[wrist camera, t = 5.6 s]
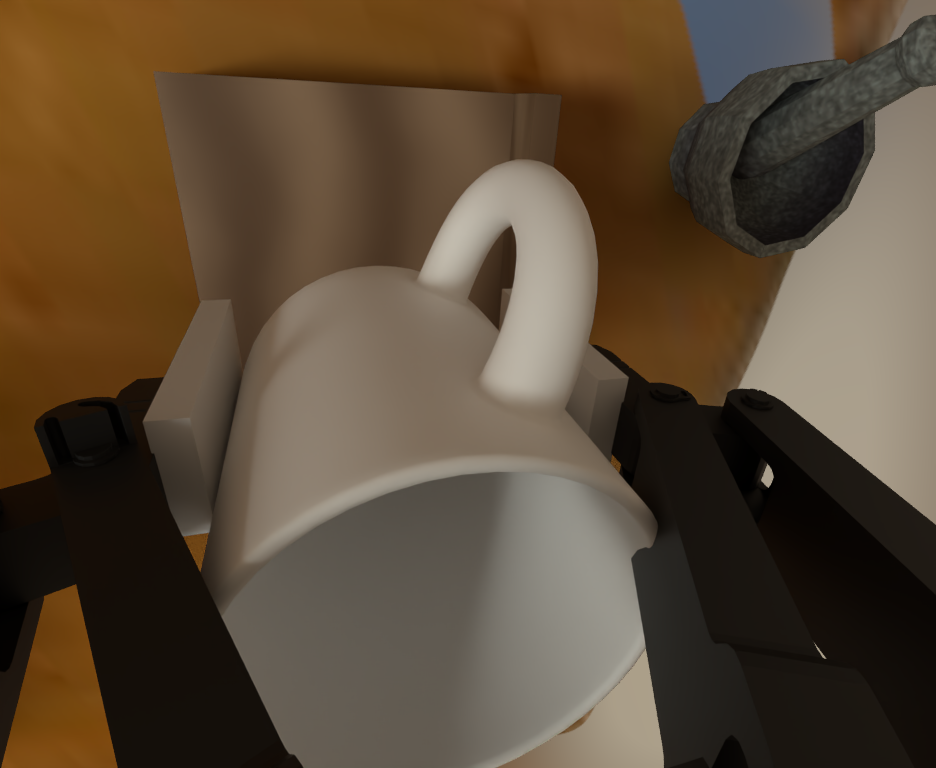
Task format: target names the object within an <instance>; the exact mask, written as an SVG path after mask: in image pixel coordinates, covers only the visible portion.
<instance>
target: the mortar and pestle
mask: <svg viewBox="0 0 936 768" xmlns="http://www.w3.org/2000/svg"><path fill="white" fill-rule="evenodd" d="M933 85H936V15H929V16H924V17H922V18H920V19H918V20H917V21H915V22H913V23H912V24H910V25H909V27H908V28H907V30H906V31H905V32H904V34H903V35H902V37H900V38H898V39H897V40H894V41H892V42H891V43H889V44H887V45H885V46H883V47H881V48H879V49H877V50H876V51H874V52H872V53H870V54H868V55H866V56H864V57H862V58H861V59H859V60H857V61H855V62H853V63H851V64H848V63H847V62H846V61H845V60H844V59H837V60H824V61H816V62H809V63H803V64H797V65H790V66H784V67H778V68H771V69H767V70H764V71H761V72H757V73H754V74H750V75H748V76H747V77H746V78H745V79H744V80H742V81H741V82H740V83H739V84H738V85H737V86H736V87H734V88H733V89H732V90H731V91H730V92H729V93H728V94H727V95H726V96H725V97H724V98H723V99H722V100H721V101H720V102H716V103H709V104H704V105H703V106H702V107H701V108H700V109H699V110H698V111H697V112H696V113H695V114H694V115H693V116H692V117H691V118H690V119H689V120H688V121H687V122H686V123H685V124H684V125H683V126H682V127H681V128H680V130H679V133H678V136H677V139H676V142H675V145H674V148H673V151H672V154H671V158H670V161H669V165H670V170H671V175H672V179H673V184H674V189H675V192H677V193H678V194H680V195H681V196H682V197H684V198H685V199H687V200H688V201H689V202H690V207H691V210H692V212H693V215H694V217H695V219H696V221H697V222H698V223H700V224H701V225H703V226H704V227H706V228H707V229H708V230H710V231H711V232H713V233H714V234H716V235H717V236H719V237H720V238H722V239H723V240H725V241H726V242H728V243H729V244H731V245H732V246H734V247H736V248H737V249H739V250H740V251H742V252H744V253H747V254H750V255H753V256H755V257H758V258H762V257H767V256H771V255H775V254H780V253H784V252H788V251H793V250H797V249H801V248H805V247H806V246H807V245H808V244H809V243H811V242H812V241H813V240H814V239H815V238H816V237H817V236H818V235H819V234H820V233H821V232H822V231H823V230H825V229H826V228H827V227H828V226H829V225H830V224H831V223H832V222H833V221H834V220H835V219H836V218H838V217H839V216H840V215H841V214H842V213H843V212H844V211H845V210H846V209H847V208H848V206H849V204H850V202H851V200H852V198H853V196H854V194H855V192H856V189H857V187H858V185H859V183H860V181H861V179H862V177H863V175H864V173H865V170H866V168H867V166H868V164H869V162H870V160H871V158H872V156H873V153H874V151H875V112H876V111H878V110H880V109H882V108H883V107H885V106H887V105H889V104H890V103H892V102H894V101H896V100H898V99H899V98H901V97H903V96H905V95H906V94H908V93H910V92H912V91H913V90H915V89H917V88H919V87H926V86H933Z"/></svg>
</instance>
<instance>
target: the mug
mask: <svg viewBox="0 0 936 768" xmlns="http://www.w3.org/2000/svg"><path fill="white" fill-rule="evenodd" d="M511 225H512V227H513V230H514V233H515V239H516V252H517V259H516V268H515V277H514V283H513V288H512V293H511V297H510V302H509V305H508V309H507V312H506V315H505V319H504V322H503V325H502V328H501V330H500V332H499V331H498V329H497V328H496V327H495V326H494V325H493V324H492V323H491V321H490V320H489V319H488V318H487V317H486V316H485V315H484V314H483V313H482V312H481V311H480V310H479V309H478V308H477V307H476V306H475V305H474V304H473V303H472V302H471V301H470V300H469V299H468V296H469V294H470V291H471V288H472V286H473V284H474V281H475V279H476V277H477V274H478V272H479V270H480V268H481V266H482V264H483V262H484V260H485V258H486V256H487V254H488V252H489V251H490V249H491V247H492V246H493V244H494V243H495V241H496V240H497V239H498V237H499V236H500V235H501V234H502V232H503V231H504V230H505V229H507V228H508V227H510V226H511ZM597 283H598V257H597V249H596V241H595V234H594V231H593V228H592V224H591V221H590V218H589V214H588V212H587V210H586V207H585V205H584V203H583V201H582V199H581V198H580V196H579V194H578V192H577V190H576V189H575V187H574V185H573V184H572V183H571V182H570V181H568V180H567V179H566V178H565V177H564V176H563V175H562V174H561V173H560V172H559V171H557V170H556V169H555V168H554V167H552V166H550V165H547V164H545V163H543V162H540V161H534V160H528V159H516V160H512V161H509V162H505V163H502V164H499V165H496V166H494V167H492V168H491V169H489V170H488V171H486V172H485V173H483V174H482V175H481V176H480V177H479V178H478V179H477V180H476V181H474V182H473V183H472V184H471V185H470V186H469V187H468V188H467V189H466V190H465V192H464V193H463V194H462V195H461V196H460V198H459V199H458V200H457V202H456V203H455V205H454V206H453V208H452V209H451V211H450V212H449V214H448V216H447V218H446V219H445V221H444V223H443V225H442V226H441V228H440V230H439V232H438V234H437V236H436V238H435V240H434V242H433V245H432V247H431V249H430V251H429V253H428V255H427V258H426V260H425V262H424V264H423V267H422V269H421V271H420V272H419V271H416V270H412V269H407V268H401V267H394V266H367V267H356V268H352V269H348V270H343V271H339V272H336V273H333V274H331V275H328V276H325V277H322V278H320V279H318V280H316V281H314V282H313V283H311V284H309V285H307V286H305V287H303V288H302V289H301V290H299V291H298V292H296V293H295V294H294V295H292V296H291V297H289V298H288V299H287V300H286V301H285V302H284V303H283V304H282V305H281V306H280V307H279V308H278V309H277V310H276V311H275V312H274V314H273V315H272V316H271V317H270V319H269V320H268V321H267V322H266V324H265V325H264V326H263V328H262V329H261V331H260V333H259V335H258V336H257V338H256V340H255V341H254V344H253V346H252V349H251V351H250V354H249V356H248V359H247V361H246V364H245V367H244V371H243V376H242V380H241V385H240V389H239V394H238V399H237V403H236V408H235V413H234V417H233V422H232V427H231V432H230V436H229V441H228V446H227V450H226V455H225V460H224V465H223V469H222V474H221V479H220V483H219V488H218V493H217V497H216V502H215V507H214V512H213V516H212V521H211V526H210V530H209V535H208V540H207V545H206V549H205V554H204V559H203V563H202V568H201V575H202V577H203V579H204V581H205V584H206V586H207V588H208V590H209V592H210V594H211V596H212V598H213V600H214V602H215V604H216V606H217V608H218V610H219V613H220V615H221V617H222V619H223V621H224V623H225V625H226V627H227V629H228V631H229V633H230V635H231V637H232V639H233V642H234V644H235V646H236V648H237V650H238V652H239V654H240V656H241V658H242V660H243V662H244V664H245V666H246V669H247V671H248V673H249V675H250V677H251V679H252V681H253V683H254V685H255V687H256V689H257V691H258V693H259V695H260V698H261V700H262V702H263V704H264V706H265V708H266V710H267V712H268V714H269V716H270V718H271V720H272V722H273V724H274V727H275V729H276V731H277V733H278V735H279V737H280V739H281V741H282V743H283V745H284V747H285V748H286V750H287V751H288V753H289V754H294V755H295V756H296V757H297V759H298V760H299V761H300V763H301V764H302V766H303V768H497V767H499V766H501V765H503V764H505V763H507V762H510V761H511V760H513V759H516V758H518V757H520V756H522V755H524V754H526V753H527V752H529V751H531V750H533V749H535V748H536V747H538V746H540V745H542V744H544V743H545V742H547V741H548V740H550V739H551V738H553V737H554V736H556V735H558V734H559V733H561V732H562V731H564V730H565V729H567V728H568V727H569V726H571V725H572V724H573V723H575V722H576V721H577V720H579V719H580V718H581V717H583V716H584V715H585V714H586V713H588V712H589V711H590V710H591V709H592V708H593V707H595V706H596V705H597V704H598V703H599V702H600V701H601V700H603V699H604V697H606V696H607V695H608V694H609V692H610V691H612V689H614V688H615V687H616V686H617V685H618V683H620V681H621V680H622V679H623V678H624V677H625V675H626V674H627V673H628V672H629V671H630V669H631V668H632V667H633V666H634V664H635V663H636V662H637V660H638V658H639V657H640V656H641V654H642V653H643V651H644V650H645V649H646V645H645V639H644V633H643V627H642V621H641V615H640V609H639V603H638V597H637V591H636V585H635V579H634V573H633V568H632V562H631V558H632V557H633V555H634V554H635V553H636V551H637V550H639V549H642V548H645V547H647V548H650V547H651V546H653V543H654V540H655V538H656V535H657V530H658V523H657V521H656V519H655V517H654V515H653V513H652V512H651V510H650V509H649V508H648V507H647V505H646V504H645V503H644V502H643V501H642V500H641V498H640V497H639V496H638V495H637V494H636V493H635V492H634V490H633V489H632V488H631V487H630V486H629V484H628V483H627V482H626V481H625V480H624V479H623V477H622V476H621V475H620V474H619V473H618V472H617V470H616V469H615V468H614V467H613V466H612V464H611V463H610V462H609V461H608V460H607V458H606V457H605V456H604V455H603V454H602V452H601V451H600V450H599V449H598V448H597V446H596V445H595V444H594V443H593V442H592V441H591V439H590V438H589V437H588V436H587V435H586V434H585V432H584V431H583V430H582V429H581V428H580V427H579V425H578V424H577V423H576V422H575V421H574V420H573V418H572V417H571V416H570V415H569V414H568V412H567V411H566V410H565V407H566V405H567V403H568V401H569V398H570V396H571V394H572V391H573V388H574V386H575V383H576V381H577V378H578V375H579V372H580V369H581V366H582V363H583V359H584V356H585V353H586V349H587V345H588V341H589V337H590V333H591V329H592V324H593V319H594V312H595V304H596V297H597Z"/></svg>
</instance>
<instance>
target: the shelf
mask: <svg viewBox="0 0 936 768" xmlns="http://www.w3.org/2000/svg"><path fill="white" fill-rule="evenodd" d="M153 72H154V77H155V82H156V87H157V92H158V97H159V102H160V106H161V111H162V116H163V121H164V126H165V131H166V136H167V141H168V146H169V151H170V156H171V161H172V166H173V171H174V176H175V181H176V186H177V191H178V196H179V201H180V206H181V211H182V216H183V221H184V226H185V231H186V236H187V241H188V246H189V251H190V256H191V261H192V266H193V271H194V276H195V281H196V286H197V291H198V296H199V301H200V303H201V301H202V300H228V299H231V304H232V310H233V316H234V321H235V327H236V333H237V339H238V345H239V351H240V357H241V363H242V369H243V371H244V367H245V364H246V361H247V359H248V356H249V354H250V351H251V349H252V346H253V344H254V341H255V340H256V338H257V336H258V335H259V333H260V331H261V329H262V328H263V326H264V325H265V324H266V322H267V321H268V320H269V319H270V317H271V316H272V315H273V314H274V312H275V311H276V310H277V309H278V308H279V307H280V306H281V305H282V304H283V303H284V302H285V301H286V300H287V299H288V298H289V297H291V296H292V295H294V294H295V293H296V292H298V291H299V290H301V289H302V288H303V287H305V286H307V285H309V284H311V283H313V282H314V281H316V280H318V279H320V278H322V277H325V276H328V275H331V274H333V273H336V272H339V271H343V270H348V269H352V268H356V267H367V266H394V267H401V268H407V269H412V270H416V271H419V272H420V271H421V269H422V267H423V264H424V262H425V260H426V258H427V255H428V253H429V251H430V249H431V247H432V245H433V242H434V240H435V238H436V236H437V234H438V232H439V230H440V228H441V226H442V225H443V223H444V221H445V219H446V218H447V216H448V214H449V212H450V211H451V209H452V208H453V206H454V205H455V203H456V202H457V200H458V199H459V198H460V196H461V195H462V194H463V193H464V192H465V190H466V189H467V188H468V187H469V186H470V185H471V184H472V183H473V182H474V181H476V180H477V179H478V178H479V177H480V176H481V175H482V174H483V173H485V172H486V171H488V170H489V169H491V168H492V167H494V166H496V165H499V164H502V163H505V162H509V161H512V160H516V159H528V160H534V161H540V162H543V163H545V164H547V165H550V166H552V167H554V159H555V150H556V141H557V132H558V124H559V115H560V106H561V97H562V95H554V94H538V93H530V94H509V93H493V92H477V91H461V90H445V89H429V88H413V87H396V86H380V85H364V84H348V83H332V82H316V81H300V80H284V79H268V78H251V77H235V76H219V75H203V74H187V73H171V72H155V71H153ZM516 259H517V252H516V239H515V233H514V230H513V227H512V225H511V226H510V227H508V228H507V229H505V230H504V231H503V232H502V234H501V235H500V236H499V237H498V239H497V240H496V241H495V243H494V244H493V246H492V247H491V249H490V251H489V252H488V254H487V256H486V258H485V260H484V262H483V264H482V266H481V268H480V270H479V272H478V274H477V277H476V279H475V281H474V284H473V286H472V288H471V291H470V294H469V296H468V299H469V300H470V301H471V302H472V303H473V304H474V305H475V306H476V307H477V308H478V309H479V310H480V311H481V312H482V313H483V314H484V315H485V316H486V317H487V318H488V319H489V320H490V321H491V323H492V324H493V325H494V326H495V327H496V328H497V329H498V331H499V322H500V310H501V297H502V289H512V288H513V283H514V277H515V268H516Z"/></svg>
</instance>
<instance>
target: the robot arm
mask: <svg viewBox="0 0 936 768" xmlns="http://www.w3.org/2000/svg"><path fill="white" fill-rule="evenodd" d="M511 293H512V289H502V297H501V310H500V322H499V332H500V330H501V328H502V325H503V322H504V319H505V315H506V312H507V309H508V305H509V302H510V297H511ZM242 376H243V369H242V363H241V357H240V351H239V345H238V339H237V333H236V327H235V321H234V316H233V310H232V304H231V299H228V300H202V301H201V303H200V305H199V307H198V309H197V311H196V313H195V315H194V318H193V320H192V322H191V324H190V326H189V328H188V330H187V332H186V334H185V336H184V338H183V340H182V342H181V344H180V346H179V348H178V350H177V352H176V354H175V357H174V359H173V361H172V363H171V365H170V367H169V369H168V371H167V373H166V375H165V377H162V378H149V379H137V380H136V381H134V382H133V383H131V384H130V385H128V386H127V387H125V388H124V389H122V390H121V391H120V393H119V394H118V396H117V398H116V399H115V398H110V397H93V398H87V399H81V400H75V401H72V402H69V403H66V404H63V405H60V406H57V407H55V408H53V409H51V410H49V411H47V412H45V413H44V414H43V415H42V416H41V417H40V418H38V419H37V420H36V423H35V426H34V429H35V432H36V434H37V437H38V439H39V442H40V444H41V447H42V449H43V452H44V454H45V457H46V459H47V462H48V464H49V467H50V470H51V474H50V475H48V476H45V477H42V478H39V479H36V480H33V481H29V482H26V483H22V484H18V485H14V486H11V487H7V488H3V489H0V768H1V766H2V762H3V758H4V754H5V750H6V746H7V742H8V738H9V734H10V730H11V726H12V722H13V719H14V715H15V711H16V707H17V703H18V699H19V695H20V691H21V687H22V683H23V679H24V675H25V672H26V668H27V664H28V660H29V656H30V652H31V648H32V644H33V640H34V636H35V632H36V628H37V624H38V621H39V617H40V613H41V609H42V605H43V601H44V596H45V595H48V594H50V593H53V592H56V591H59V590H61V589H64V588H67V587H70V586H72V585H75V584H76V585H77V590H78V594H79V598H80V603H81V607H82V612H83V616H84V621H85V625H86V629H87V634H88V638H89V643H90V647H91V651H92V656H93V660H94V665H95V669H96V674H97V678H98V682H99V687H100V691H101V696H102V700H103V705H104V709H105V713H106V718H107V722H108V727H109V731H110V736H111V740H112V744H113V749H114V753H115V758H116V762H117V766H118V768H303V766H302V764H301V763H300V761H299V760H298V759H297V757H296V756H295V755H294V754H289V753H288V751H287V750H286V748H285V747H284V745H283V743H282V741H281V739H280V737H279V735H278V733H277V731H276V729H275V727H274V724H273V722H272V720H271V718H270V716H269V714H268V712H267V710H266V708H265V706H264V704H263V702H262V700H261V698H260V695H259V693H258V691H257V689H256V687H255V685H254V683H253V681H252V679H251V677H250V675H249V673H248V671H247V669H246V666H245V664H244V662H243V660H242V658H241V656H240V654H239V652H238V650H237V648H236V646H235V644H234V642H233V639H232V637H231V635H230V633H229V631H228V629H227V627H226V625H225V623H224V621H223V619H222V617H221V615H220V613H219V610H218V608H217V606H216V604H215V602H214V600H213V598H212V596H211V594H210V592H209V590H208V588H207V586H206V584H205V581H204V579H203V577H202V575H201V573H200V571H199V569H198V567H197V565H196V563H195V561H194V559H193V557H192V555H191V552H190V550H189V548H188V546H187V544H186V542H185V540H184V538H183V536H189V535H195V534H202V533H209V530H210V526H211V521H212V516H213V512H214V507H215V502H216V497H217V493H218V488H219V483H220V479H221V474H222V469H223V465H224V460H225V455H226V450H227V446H228V441H229V436H230V432H231V427H232V422H233V417H234V413H235V408H236V403H237V399H238V394H239V389H240V385H241V380H242ZM565 410H566V411H567V412H568V414H569V415H570V416H571V417H572V418H573V420H574V421H575V422H576V423H577V424H578V425H579V427H580V428H581V429H582V430H583V431H584V432H585V434H586V435H587V436H588V437H589V438H590V439H591V441H592V442H593V443H594V444H595V445H596V446H597V448H598V449H599V450H600V451H601V452H602V454H603V455H604V456H605V457H606V458H607V460H608V461H609V462H611V457H612V454H613V456H614V457H615V458H616V459H617V460H618V461H619V462H620V464H621V467H620V472H619V474H620V475H621V476H622V477H623V479H624V480H625V481H626V482H627V483H628V484H629V486H630V487H631V488H632V489H633V490H634V492H635V493H636V494H637V495H638V496H639V497H640V498H641V500H642V501H643V502H644V503H645V504H646V505H647V507H648V508H649V509H650V510H651V512H652V513H653V515H654V517H655V519H656V521H657V523H658V530H657V535H656V538H655V540H654V543H653V546H651V547H650V548H647V547H645V548H642V549H639V550H637V551H636V553H635V554H634V555H633V557H632V558H631V562H632V568H633V573H634V579H635V585H636V591H637V597H638V603H639V609H640V615H641V621H642V627H643V633H644V639H645V645H646V651H647V657H648V662H649V668H650V675H651V680H652V687H653V692H654V699H655V704H656V710H657V716H658V722H659V728H660V734H661V740H662V746H663V754H664V768H936V525H935V524H934V523H933V522H932V521H930V520H929V519H928V518H927V517H925V516H924V515H923V514H921V513H920V512H919V511H918V510H917V509H915V508H914V507H913V506H912V505H910V504H909V503H908V502H907V501H905V500H904V499H903V498H902V497H900V496H899V495H898V494H897V493H896V492H894V491H893V490H892V489H891V488H889V487H888V486H887V485H886V484H884V483H883V482H882V481H881V480H879V479H878V478H877V477H876V476H874V475H873V474H872V473H870V472H869V471H868V470H867V469H865V468H864V467H863V466H862V465H861V464H859V463H858V462H857V461H856V460H855V459H853V458H852V457H851V456H849V455H848V454H847V453H846V452H844V451H843V450H842V449H841V448H840V447H838V446H837V445H836V444H834V443H833V442H832V441H831V440H829V439H828V438H827V437H826V436H825V435H823V434H822V433H821V432H820V431H819V430H817V429H816V428H815V427H814V426H812V425H811V424H810V423H809V422H807V421H806V420H805V419H804V418H802V417H801V416H800V415H799V414H797V413H796V412H795V411H794V410H792V409H791V408H790V407H789V406H787V405H786V404H785V403H784V402H782V401H781V400H779V399H777V398H776V397H774V396H771V395H769V394H767V393H766V392H764V391H761V390H759V391H757V390H756V389H734V390H731V391H730V392H728V393H727V397H726V400H725V403H724V406H723V407H720V406H708V405H698V403H697V401H696V399H695V398H694V397H693V396H692V394H691V393H689V392H688V391H686V390H684V389H682V388H680V387H677V386H674V385H670V384H665V383H649V382H648V381H646V380H645V379H644V378H643V377H641V376H640V375H639V374H638V373H637V372H635V371H634V370H633V369H632V368H629V366H628V365H627V364H626V363H624V362H623V361H621V359H619V358H618V357H617V356H616V355H615V354H613V353H612V352H611V351H609V350H606V349H604V348H602V347H600V346H597V345H590V344H589V343H588V345H587V349H586V353H585V356H584V359H583V363H582V366H581V369H580V372H579V375H578V378H577V381H576V383H575V386H574V388H573V391H572V394H571V396H570V398H569V401H568V403H567V405H566V407H565ZM767 464H768V465H769V466H770V468H771V469H772V472H773V475H774V478H773V481H772V483H771V485H770V487H769V488H768V487H766V486H765V485H764V483H763V482H762V481H761V479H762V476H763V473H764V471H765V468H766V466H767ZM813 641H814V642H813ZM814 643H815V644H816V645H817V647H818V648H819V649H820V651H821V652H822V653H823V655H824V656H825V657H826V659H824V658H823V657H822V656H821V654H820V653H819V651H818V650H817V648H816V646H815V644H814Z"/></svg>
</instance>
